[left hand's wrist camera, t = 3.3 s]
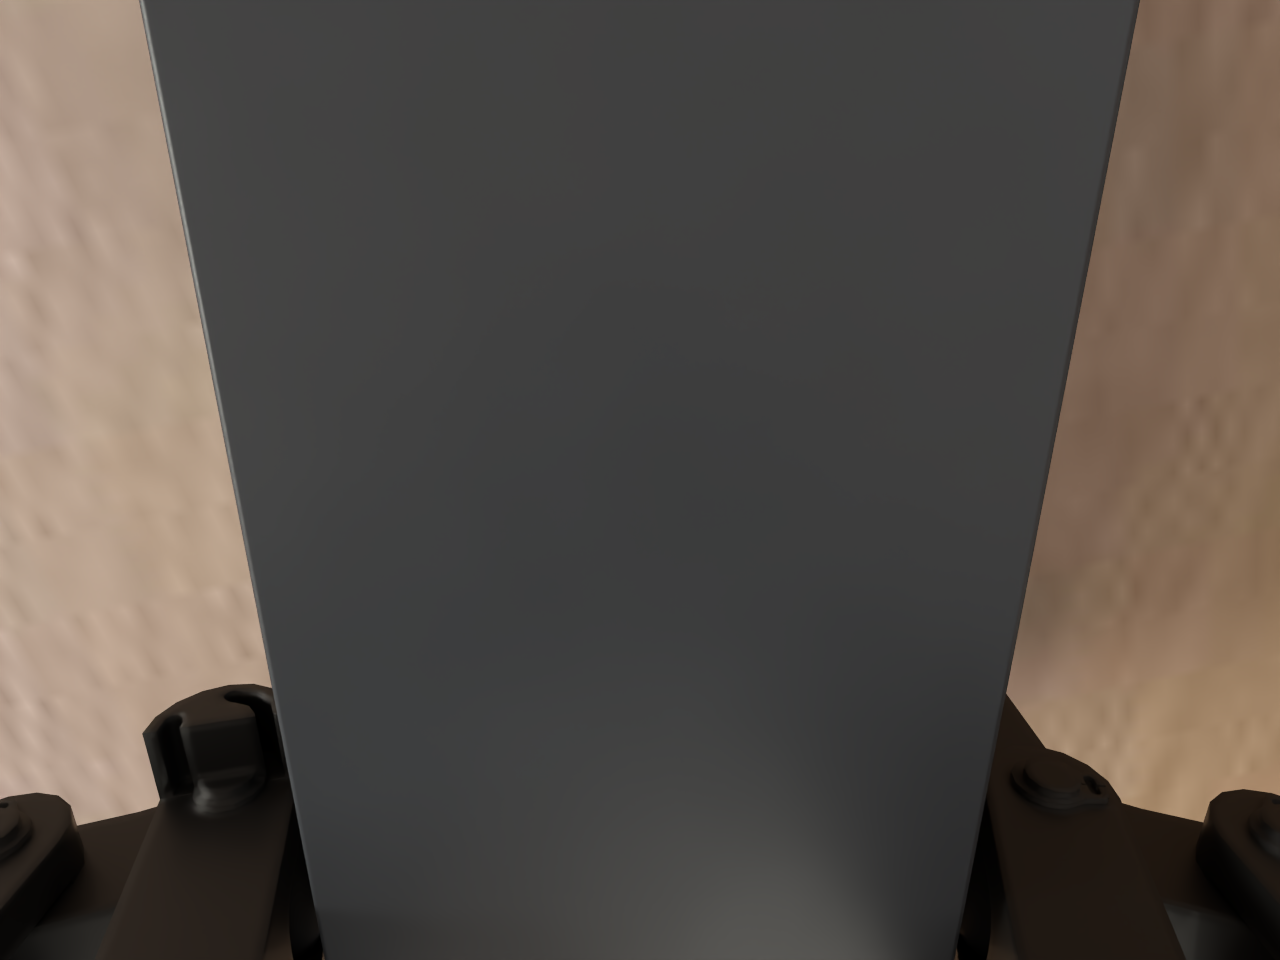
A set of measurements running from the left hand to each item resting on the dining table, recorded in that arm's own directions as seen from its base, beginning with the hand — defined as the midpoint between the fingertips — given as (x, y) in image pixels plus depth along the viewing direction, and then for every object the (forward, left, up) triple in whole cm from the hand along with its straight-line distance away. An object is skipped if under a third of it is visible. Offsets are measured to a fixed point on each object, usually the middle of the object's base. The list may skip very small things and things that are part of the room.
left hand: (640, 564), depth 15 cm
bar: (+8, +2, -1) cm, 8 cm away
